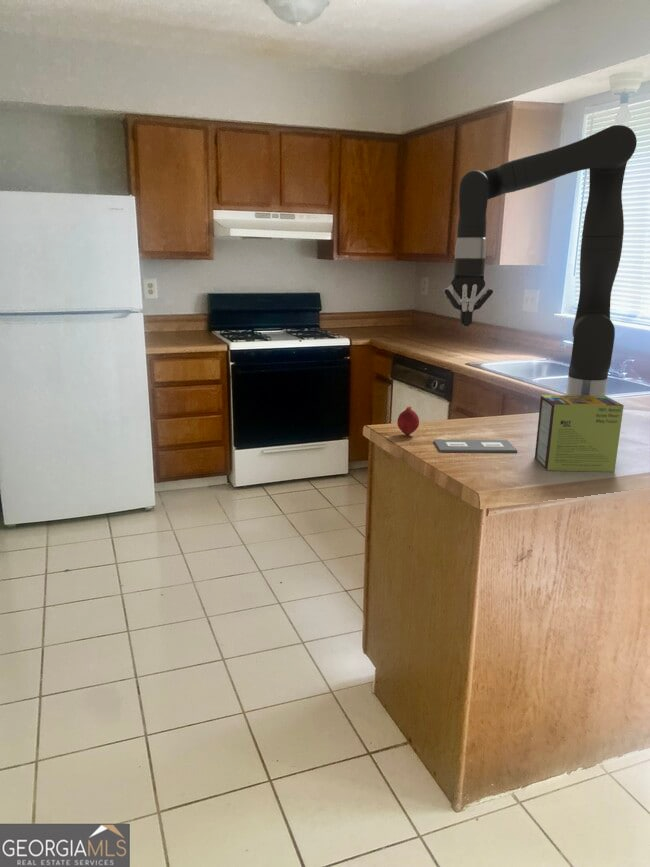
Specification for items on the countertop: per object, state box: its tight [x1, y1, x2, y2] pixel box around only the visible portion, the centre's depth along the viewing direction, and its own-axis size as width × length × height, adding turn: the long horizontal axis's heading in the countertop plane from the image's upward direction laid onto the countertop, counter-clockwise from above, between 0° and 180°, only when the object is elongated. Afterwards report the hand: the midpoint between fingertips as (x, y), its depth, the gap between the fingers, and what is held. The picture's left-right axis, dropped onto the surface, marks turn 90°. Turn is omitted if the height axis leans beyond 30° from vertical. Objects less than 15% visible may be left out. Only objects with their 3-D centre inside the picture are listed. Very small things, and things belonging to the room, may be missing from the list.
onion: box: [396, 405, 420, 436], centre depth 171 cm, size 6×6×8 cm
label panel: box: [433, 438, 518, 453], centre depth 162 cm, size 19×9×1 cm, turn 90°
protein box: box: [534, 394, 624, 473], centre depth 147 cm, size 10×15×16 cm
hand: (465, 326), depth 166 cm, fingers closed
